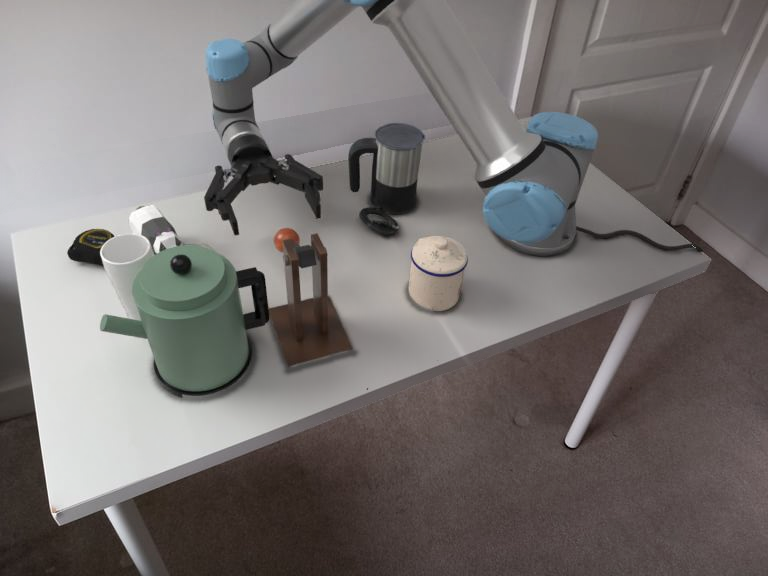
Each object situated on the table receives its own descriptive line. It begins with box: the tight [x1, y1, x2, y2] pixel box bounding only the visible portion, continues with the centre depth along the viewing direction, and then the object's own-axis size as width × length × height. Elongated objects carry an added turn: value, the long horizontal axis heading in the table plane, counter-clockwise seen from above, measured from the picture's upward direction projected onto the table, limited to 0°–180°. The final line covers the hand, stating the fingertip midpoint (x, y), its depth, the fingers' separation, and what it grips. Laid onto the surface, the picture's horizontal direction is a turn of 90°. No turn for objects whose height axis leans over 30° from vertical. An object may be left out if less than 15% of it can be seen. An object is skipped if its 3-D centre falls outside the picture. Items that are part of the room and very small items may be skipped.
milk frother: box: [347, 122, 427, 237], centre depth 111 cm, size 14×16×15 cm
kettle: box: [99, 244, 271, 399], centre depth 81 cm, size 22×14×20 cm, turn 112°
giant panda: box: [128, 204, 183, 255], centre depth 99 cm, size 15×6×10 cm, turn 38°
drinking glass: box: [100, 232, 154, 321], centre depth 88 cm, size 7×7×15 cm
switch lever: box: [273, 227, 317, 269], centre depth 87 cm, size 15×4×4 cm, turn 22°
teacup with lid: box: [407, 235, 469, 312], centre depth 97 cm, size 12×9×12 cm
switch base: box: [269, 232, 353, 367], centre depth 87 cm, size 12×10×18 cm
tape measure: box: [66, 228, 115, 267], centre depth 101 cm, size 7×7×4 cm
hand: (278, 220), depth 96 cm, fingers open, 13 cm apart
